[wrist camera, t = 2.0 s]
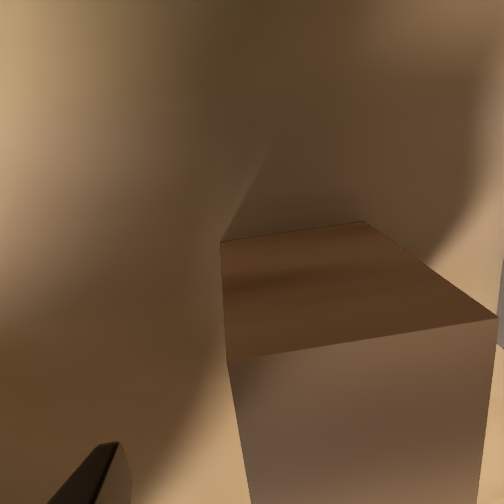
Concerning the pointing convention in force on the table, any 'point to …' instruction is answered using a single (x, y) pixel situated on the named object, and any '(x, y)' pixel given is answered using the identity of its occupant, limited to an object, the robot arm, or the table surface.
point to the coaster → (501, 313)
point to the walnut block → (354, 370)
